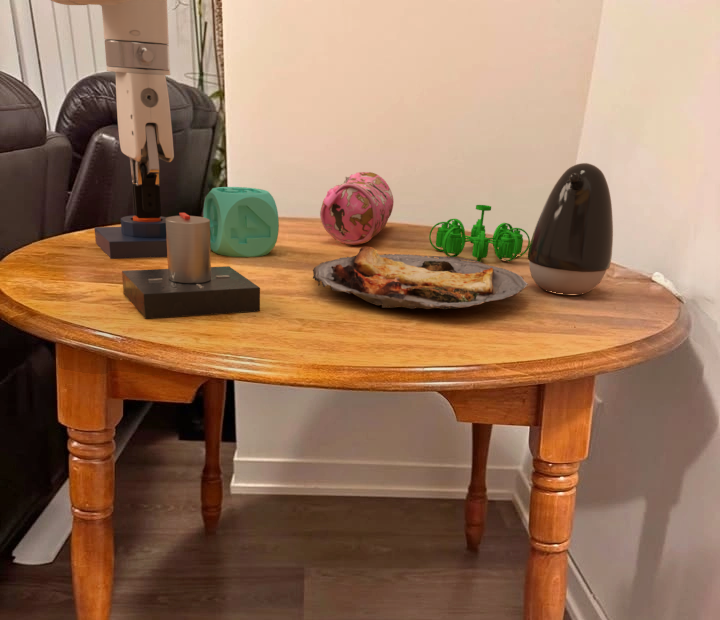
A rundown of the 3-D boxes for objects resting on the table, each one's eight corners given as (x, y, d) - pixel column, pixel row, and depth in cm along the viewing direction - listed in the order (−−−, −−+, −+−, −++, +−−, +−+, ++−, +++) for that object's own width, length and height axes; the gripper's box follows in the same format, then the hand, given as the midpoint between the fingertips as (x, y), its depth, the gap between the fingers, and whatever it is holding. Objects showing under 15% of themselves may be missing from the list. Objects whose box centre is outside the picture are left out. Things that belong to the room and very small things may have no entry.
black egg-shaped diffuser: (511, 291, 97) (532, 160, 90) (535, 277, 105) (555, 156, 98) (593, 305, 93) (621, 170, 86) (611, 289, 101) (637, 165, 94)
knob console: (145, 319, 77) (143, 292, 75) (123, 293, 84) (121, 269, 83) (260, 311, 82) (260, 285, 80) (229, 288, 89) (229, 264, 88)
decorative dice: (278, 256, 106) (279, 195, 103) (223, 259, 103) (222, 195, 99) (257, 245, 113) (257, 186, 109) (203, 246, 109) (202, 186, 105)
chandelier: (522, 248, 123) (530, 203, 120) (532, 268, 110) (540, 218, 107) (428, 240, 124) (433, 195, 121) (426, 259, 111) (432, 209, 108)
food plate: (277, 296, 88) (277, 264, 86) (361, 262, 107) (362, 235, 105) (491, 335, 79) (496, 301, 78) (540, 290, 98) (545, 262, 97)
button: (137, 233, 101) (136, 219, 101) (130, 228, 104) (129, 214, 103) (164, 232, 103) (163, 219, 102) (157, 227, 106) (157, 214, 105)
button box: (110, 259, 98) (108, 226, 97) (95, 243, 106) (93, 213, 104) (203, 256, 104) (202, 225, 102) (182, 241, 111) (181, 212, 109)
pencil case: (339, 222, 134) (342, 167, 130) (392, 227, 134) (397, 172, 130) (316, 245, 116) (319, 181, 111) (378, 250, 115) (382, 187, 111)
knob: (216, 282, 81) (215, 219, 78) (174, 284, 79) (171, 220, 76) (204, 272, 84) (202, 212, 82) (163, 274, 83) (160, 212, 80)
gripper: (185, 63, 90) (191, 226, 99) (153, 61, 102) (161, 207, 110) (119, 58, 87) (131, 228, 96) (94, 57, 99) (107, 208, 107)
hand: (147, 216), depth 103 cm, fingers closed
